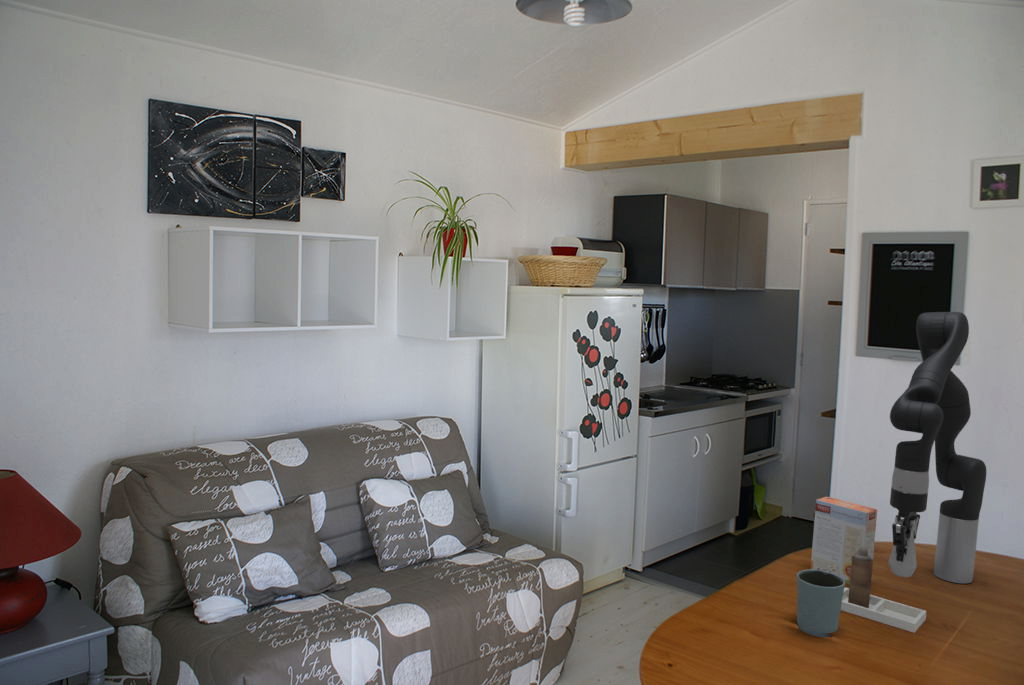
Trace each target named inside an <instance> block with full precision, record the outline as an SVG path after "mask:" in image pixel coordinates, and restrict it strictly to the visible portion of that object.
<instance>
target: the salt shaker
mask: <svg viewBox="0 0 1024 685" xmlns="http://www.w3.org/2000/svg"><path fill="white" fill-rule="evenodd" d="M909 526H910V525H909ZM916 528H917V523H916V522H915V525H914V526H913V531H915V530H916ZM913 531H912V538H910V539H909V542H908V548H907V553H906V555H905V553H904V559H903V562H901V561H896V556H897V552H896V546H894V545H893V546H892V550H891V552H890V556H889V558H888V565H889V568H890V570H891V572H892V574H893V575H895V576H897V577H900V578H901V577H902V578H910V577H912V576H913V574H914V573H915V571H916V569H917V566H918V564H917V556H916V542H915V540H914V533H913ZM906 534H907V535H908V533H906ZM899 541H901V542H902V540H901V539H899ZM900 551H901V550H900ZM900 555H901V554H900ZM899 558H901V557H899Z"/></svg>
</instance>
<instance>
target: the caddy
mask: <svg viewBox="0 0 1024 685" xmlns="http://www.w3.org/2000/svg"><path fill="white" fill-rule="evenodd" d="M848 597H849V587H844V592H843V597H842V603H841V610H840V611H843V612H846V613H848V614H853V615H855V616H859V617H862V618H865V619H867V620H868V619H869V620H872V621H875V622H877V623H882V624H885V625H887V626H891V627H894V628H898V629H901V630H905V631H907V632H911V633H913V634H914V633H916V632H917V631H918V630H919V628H920V627H921V626H922V625H923V624H924V622H926V620H927V619H926V618H927V610H924V609H921V608H918V607H914V606H910V605H907V604H904V603H901V602H897V601H895V600H894V601H893V600H890V599H886V598H884V597H880V596H876V595H873V594H870V601H869V609H868V608H865V607H862V606H858V605H855V604H852V603H848Z"/></svg>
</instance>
